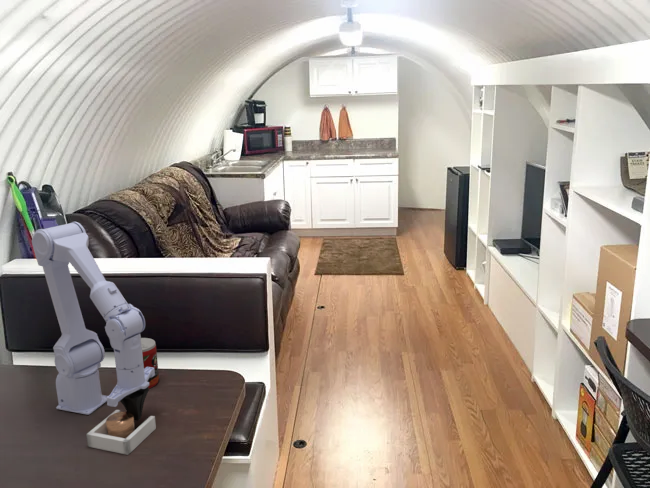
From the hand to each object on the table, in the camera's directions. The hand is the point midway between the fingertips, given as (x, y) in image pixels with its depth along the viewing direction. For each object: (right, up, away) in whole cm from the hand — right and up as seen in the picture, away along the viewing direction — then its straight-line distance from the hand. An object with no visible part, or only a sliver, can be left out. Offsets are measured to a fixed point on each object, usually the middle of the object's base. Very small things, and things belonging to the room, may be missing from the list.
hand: (135, 418), depth 127 cm
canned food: (-4, +3, +19) cm, 20 cm away
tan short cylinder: (-2, -3, -3) cm, 4 cm away
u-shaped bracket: (-1, -3, -4) cm, 5 cm away
